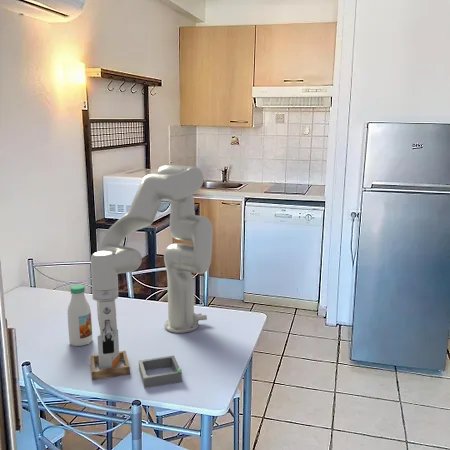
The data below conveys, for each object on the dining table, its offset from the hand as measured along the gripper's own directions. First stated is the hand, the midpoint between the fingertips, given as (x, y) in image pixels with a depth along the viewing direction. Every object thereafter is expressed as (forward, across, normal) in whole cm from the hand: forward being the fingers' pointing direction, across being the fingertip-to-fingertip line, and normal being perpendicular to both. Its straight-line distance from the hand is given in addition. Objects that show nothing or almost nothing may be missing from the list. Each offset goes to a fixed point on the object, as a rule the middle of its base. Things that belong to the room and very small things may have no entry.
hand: (107, 346), depth 147 cm
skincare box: (+8, 0, 0) cm, 8 cm away
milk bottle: (+8, +22, +8) cm, 25 cm away
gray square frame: (+7, -8, -14) cm, 18 cm away
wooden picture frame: (+8, 0, 0) cm, 8 cm away
